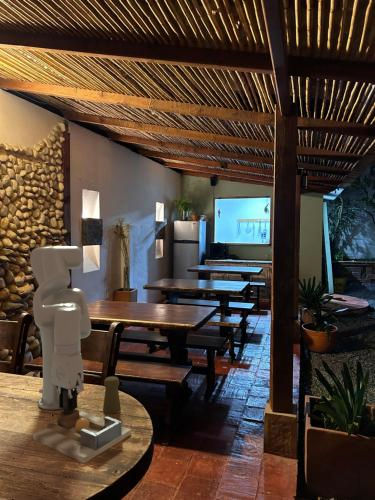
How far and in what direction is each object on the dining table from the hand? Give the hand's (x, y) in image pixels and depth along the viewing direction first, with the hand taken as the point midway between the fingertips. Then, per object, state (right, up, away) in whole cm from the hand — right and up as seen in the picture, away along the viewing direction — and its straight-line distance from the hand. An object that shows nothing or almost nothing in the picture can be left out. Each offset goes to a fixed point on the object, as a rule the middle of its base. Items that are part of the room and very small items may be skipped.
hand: (68, 407), depth 119 cm
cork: (+10, -7, +15) cm, 19 cm away
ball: (+5, -4, -3) cm, 7 cm away
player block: (0, -6, 0) cm, 6 cm away
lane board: (+5, -7, -3) cm, 10 cm away
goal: (+12, -6, -8) cm, 15 cm away
